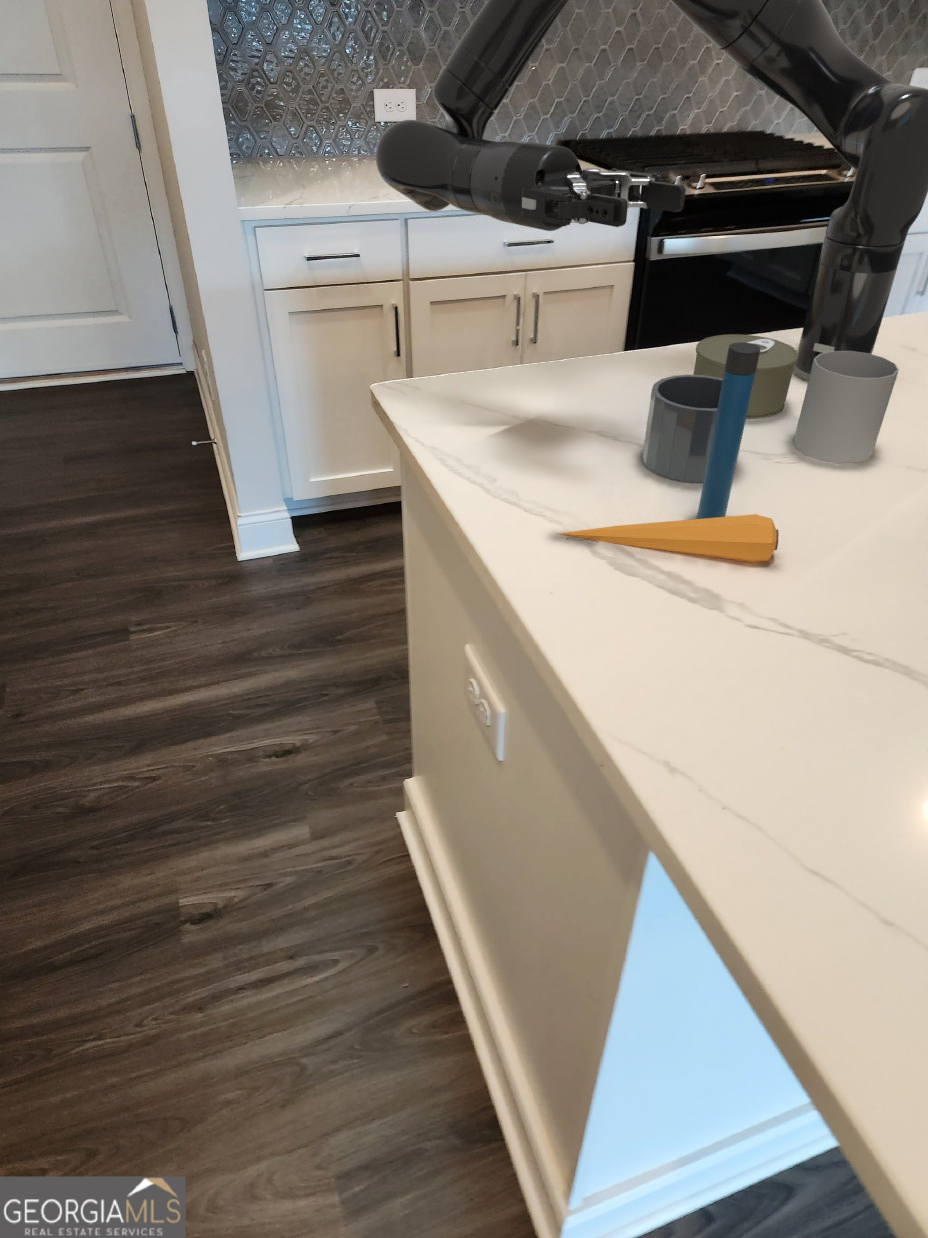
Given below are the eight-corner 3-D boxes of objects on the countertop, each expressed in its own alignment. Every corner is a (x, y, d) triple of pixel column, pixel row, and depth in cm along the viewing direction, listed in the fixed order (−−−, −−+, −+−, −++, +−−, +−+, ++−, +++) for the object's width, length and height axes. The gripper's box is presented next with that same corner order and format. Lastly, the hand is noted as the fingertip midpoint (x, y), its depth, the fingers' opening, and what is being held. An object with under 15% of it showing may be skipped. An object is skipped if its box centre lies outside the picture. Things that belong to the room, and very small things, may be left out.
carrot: (772, 560, 77) (776, 512, 76) (777, 568, 73) (782, 517, 72) (559, 553, 82) (560, 507, 81) (552, 560, 78) (552, 512, 76)
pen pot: (676, 438, 97) (687, 367, 91) (751, 466, 91) (768, 392, 86) (623, 464, 91) (632, 390, 86) (699, 496, 85) (714, 418, 80)
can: (668, 403, 105) (676, 349, 101) (720, 378, 112) (730, 327, 107) (753, 431, 98) (765, 375, 94) (803, 403, 105) (816, 349, 100)
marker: (705, 515, 82) (740, 339, 72) (728, 525, 81) (766, 347, 70) (690, 524, 81) (723, 346, 70) (713, 534, 79) (749, 354, 69)
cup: (876, 470, 90) (905, 381, 84) (797, 464, 91) (820, 375, 85) (863, 437, 96) (888, 352, 90) (789, 432, 98) (810, 348, 92)
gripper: (474, 150, 78) (608, 169, 68) (573, 134, 86) (706, 149, 76) (474, 235, 83) (600, 264, 73) (569, 213, 90) (694, 237, 81)
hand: (654, 206), depth 75 cm, fingers open, 8 cm apart
